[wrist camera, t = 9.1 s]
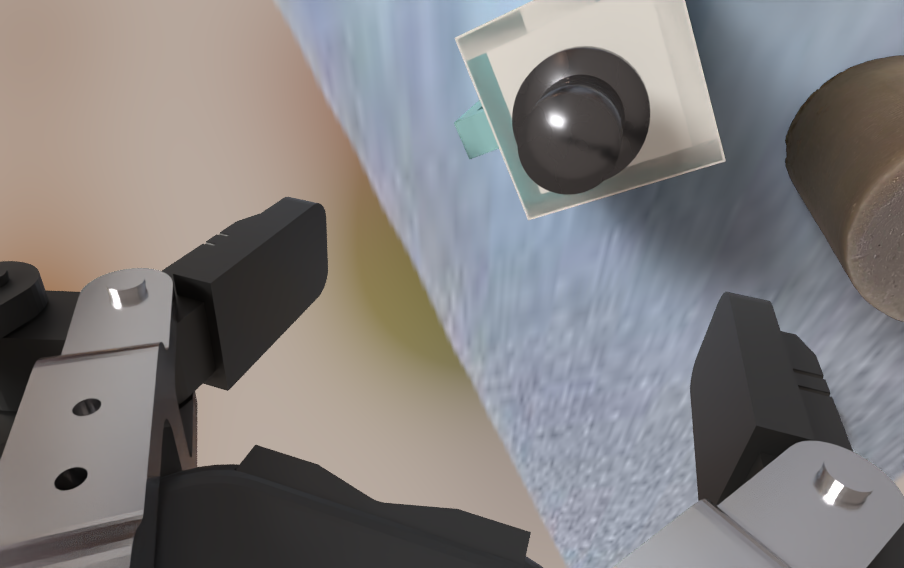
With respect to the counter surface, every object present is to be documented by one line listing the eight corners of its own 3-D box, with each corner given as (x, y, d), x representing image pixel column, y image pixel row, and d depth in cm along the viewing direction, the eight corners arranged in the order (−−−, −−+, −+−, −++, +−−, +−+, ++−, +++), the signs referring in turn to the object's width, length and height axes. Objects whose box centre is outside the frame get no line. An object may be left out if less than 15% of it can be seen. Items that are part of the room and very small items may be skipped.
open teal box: (703, 91, 36) (725, 161, 25) (535, 151, 41) (488, 231, 30) (664, -63, 33) (668, -65, 22) (486, 22, 38) (413, 57, 27)
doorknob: (671, 87, 34) (684, 200, 19) (573, 123, 36) (517, 247, 22) (642, -18, 32) (630, 18, 17) (540, 28, 34) (453, 94, 20)
